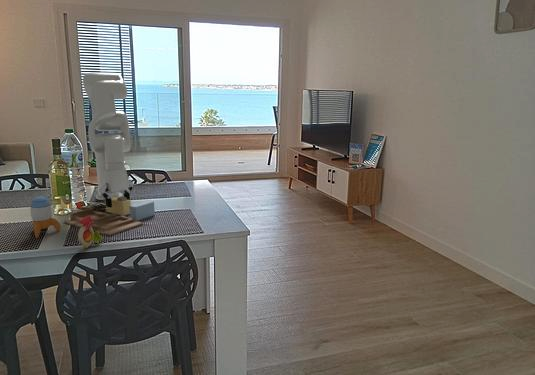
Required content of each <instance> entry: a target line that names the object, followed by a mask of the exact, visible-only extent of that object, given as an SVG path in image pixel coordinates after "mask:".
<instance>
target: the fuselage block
mask: <svg viewBox="0 0 535 375" xmlns="http://www.w3.org/2000/svg"><path fill="white" fill-rule="evenodd" d="M110 198H111V200H112V207H111V208H110V207H107V211H106V212H108V213H112V214H117V215H119V216H121V215H125V216H127V215H130V211H129V206H130V205H132V204H131V203H132V201H131V199H130V200H127V199H126V197H124V196H123V197H118V198H117V197H113V196H112V197H110ZM104 206H106V203H105V202H104Z"/></svg>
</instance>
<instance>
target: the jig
mask: <svg viewBox="0 0 535 375" xmlns="http://www.w3.org/2000/svg"><path fill="white" fill-rule="evenodd" d="M88 216H91V218H92V219H94V221H93V222H92V223H91V224H90V227H92V229H93V231H98V232H99V234H101V233H102V234H101V235H104V234H105V235H106V236H108V237H112V236H114V234H115V235H117V233H118V234H119V233H120V232H121V233H123V232H126V231H129V230H132V229H134V227H135V228H138V227H141V226H143V225H144V222H141V221H139V220H138V221H135V220H134V219H133V218H130V216H129V217H127V216H126V215H118V214H116V213H112V214H110V213H105V212H102V211H95V210H94V208H93V207H89V208H86V209H83V210H78V211H75V212H71V213H70V219H66V220H63V223H64V224H66V225H71V226H73V227H77V228H79V229H80V228H81V227H82V226H83V224H80V223H79V220H81V219H82V218H83V217H84V218H87V217H88ZM140 225H141V226H140ZM137 226H138V227H137ZM105 235H104V236H105ZM111 235H112V236H111Z"/></svg>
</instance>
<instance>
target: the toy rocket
mask: <svg viewBox="0 0 535 375" xmlns="http://www.w3.org/2000/svg"><path fill="white" fill-rule="evenodd" d="M29 210H30V211H29V212H30V216H31V220H32V222H33V223H32V227H33V231H34V235H35V238H36V239H38V238H39V236H40V233H41V232H42V233H43V232H47V231H48V230H49V227H53V228H54V229H55V230H57V231H59V232H60V231H61V227H62V226H61V223H60V221H59V220H57V219H56V218H54V217H53V210H52V205H51V202H50V201H49V199H48V198H47V197H45V196H36V197H35V198H33V199H32V201H31V203H30V209H29Z"/></svg>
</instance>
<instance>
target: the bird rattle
mask: <svg viewBox="0 0 535 375" xmlns="http://www.w3.org/2000/svg"><path fill="white" fill-rule="evenodd" d="M93 221H94V219H92V218H91V216H88V217H87V218H84V217H83V218H82V219H81V220H79V223H80V224H83V226H82V227H81V228H80V227H79V229H78V233H77V240H78V243H79V244H80V245H81V246H82V247H83V248H84V249H88V248H89V246H91V245H92V244H93V243H94V244H95V243H98V244H99V242H100V241H102V240H104V237H103V236H102V235H101V234H100V233H99V232H98V231H96V232H94V231H93V229H92V227H90V224H91V223H92V222H93Z"/></svg>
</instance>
